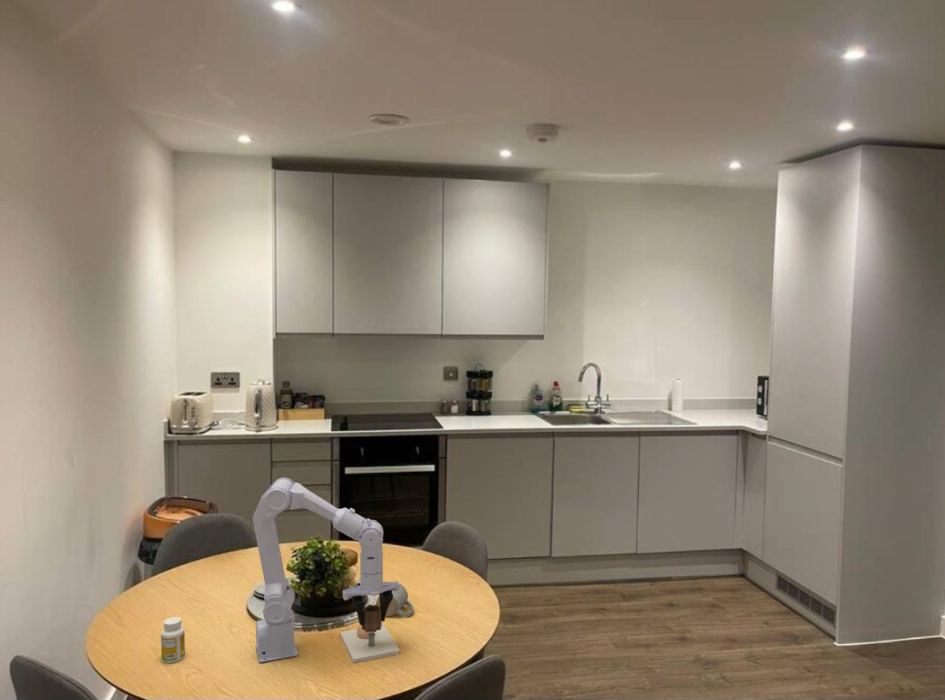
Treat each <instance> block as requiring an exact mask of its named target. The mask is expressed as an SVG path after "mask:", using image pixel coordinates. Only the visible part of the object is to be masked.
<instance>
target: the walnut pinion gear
mask: <svg viewBox="0 0 945 700" xmlns="http://www.w3.org/2000/svg"><path fill="white" fill-rule="evenodd" d="M363 621H364V622H363V625H361V626H362V630H365V632H376V631H377V630H380V629H381V627H382V622H383V621H382V608H381V607H379V606H378V605H376V604H373V605H372V604H367V605H366V606H364V608H363Z"/></svg>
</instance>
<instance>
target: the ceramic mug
mask: <svg viewBox="0 0 945 700" xmlns="http://www.w3.org/2000/svg"><path fill="white" fill-rule="evenodd" d="M399 584H400V591H397V592H396V591H392V594H393V599H392V601H391V603H390V605H389V607H388V609H387V612H386V616H385V617H392V616H394V615H396V614H398V615H399V616H402V617H410V616H412V615H413V612H414V606H413V604H412V603H411V601H409V599H408V598H409V596H408V595H409V594H408V591H407V589H406V587H404V585H402V583H399ZM377 596H378V597H377V599H376V602H375V605H378V606H379V607H380V597H379V595H377ZM404 605H405V606H406V607H408V608H409V610H410V611H409V612H408V611H407V612H406V611H404V610H402V608H403V607H404Z"/></svg>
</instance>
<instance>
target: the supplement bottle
mask: <svg viewBox="0 0 945 700" xmlns="http://www.w3.org/2000/svg"><path fill="white" fill-rule="evenodd" d="M160 641H161V643H160V646H161V649H160V650H161V652H160V653H161V660H162V662H163V663H166V664H171V663H177V662H179V661H181V660H183V659H184V657H186V656H185V655H186V644H185V643H186V642H185V641H186V640H185V628H184V626H182V618H181V617H178V616H173V617H169V618H166V619H165V620H164V621H163V629H162V630H161V632H160Z"/></svg>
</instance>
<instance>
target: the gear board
mask: <svg viewBox="0 0 945 700" xmlns="http://www.w3.org/2000/svg"><path fill="white" fill-rule="evenodd" d="M339 637H340V639H341V641H342V643H343V645H344V647H345V649H346V652H347V653H348V655H349V657H350V660H351V661H352V664H356V663H362V662H367V661H371V660H376V659H382V658H386V657H391V656H396V655H400V654H401V652H400V651H401V650H400V648H399V647H398V645H397V643H396V642H395V640H394V639H393V637H392V635H391V634H390V633H389V631H388V629H387V627H385V624H384V623H383V624H382V627H381V629H380V630H377V631H376V632H365V630H362V625H359V627H357V628H354V629H350V630H345V631H340V632H339Z"/></svg>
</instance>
